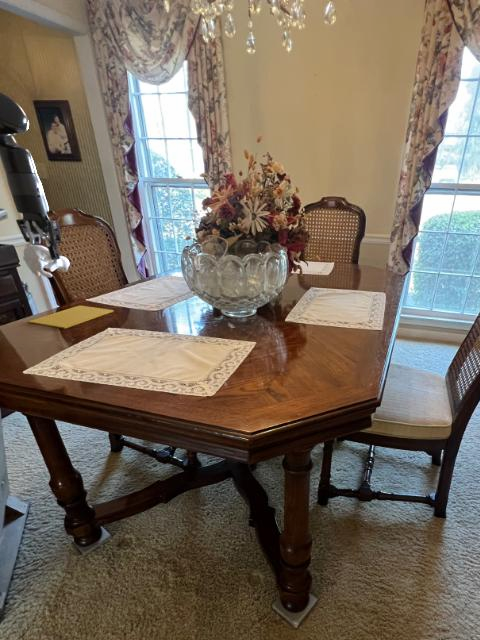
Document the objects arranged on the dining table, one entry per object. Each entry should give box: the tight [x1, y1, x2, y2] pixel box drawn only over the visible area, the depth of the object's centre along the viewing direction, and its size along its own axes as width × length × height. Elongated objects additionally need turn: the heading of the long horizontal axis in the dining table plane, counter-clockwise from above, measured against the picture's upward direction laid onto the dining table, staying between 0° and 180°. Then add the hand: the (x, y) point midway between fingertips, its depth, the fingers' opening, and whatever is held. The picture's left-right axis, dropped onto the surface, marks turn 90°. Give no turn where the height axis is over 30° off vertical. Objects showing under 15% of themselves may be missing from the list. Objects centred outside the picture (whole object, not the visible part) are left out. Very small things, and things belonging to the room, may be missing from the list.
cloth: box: [27, 305, 115, 329], centre depth 127 cm, size 20×16×1 cm
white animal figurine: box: [22, 244, 71, 278], centre depth 111 cm, size 6×8×12 cm
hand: (48, 258), depth 110 cm, fingers closed on white animal figurine, 5 cm apart
